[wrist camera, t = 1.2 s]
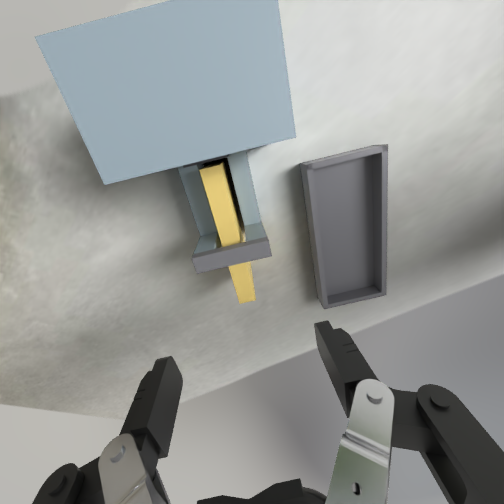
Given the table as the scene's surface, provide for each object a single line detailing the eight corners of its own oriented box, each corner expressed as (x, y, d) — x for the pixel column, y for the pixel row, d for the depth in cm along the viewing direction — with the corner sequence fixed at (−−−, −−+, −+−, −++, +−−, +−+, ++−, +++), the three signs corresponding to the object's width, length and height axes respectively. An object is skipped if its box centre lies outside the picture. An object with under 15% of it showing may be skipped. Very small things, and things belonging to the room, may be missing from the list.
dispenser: (254, 62, 18) (274, -28, 9) (282, 218, 24) (312, 260, 14) (133, 93, 19) (34, 36, 9) (187, 240, 24) (157, 296, 15)
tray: (374, 145, 21) (388, 144, 19) (375, 285, 28) (386, 295, 26) (299, 163, 22) (306, 164, 20) (317, 298, 28) (324, 309, 26)
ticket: (223, 161, 21) (219, 164, 15) (250, 265, 26) (255, 300, 20) (209, 164, 21) (199, 170, 15) (238, 268, 26) (239, 303, 20)
